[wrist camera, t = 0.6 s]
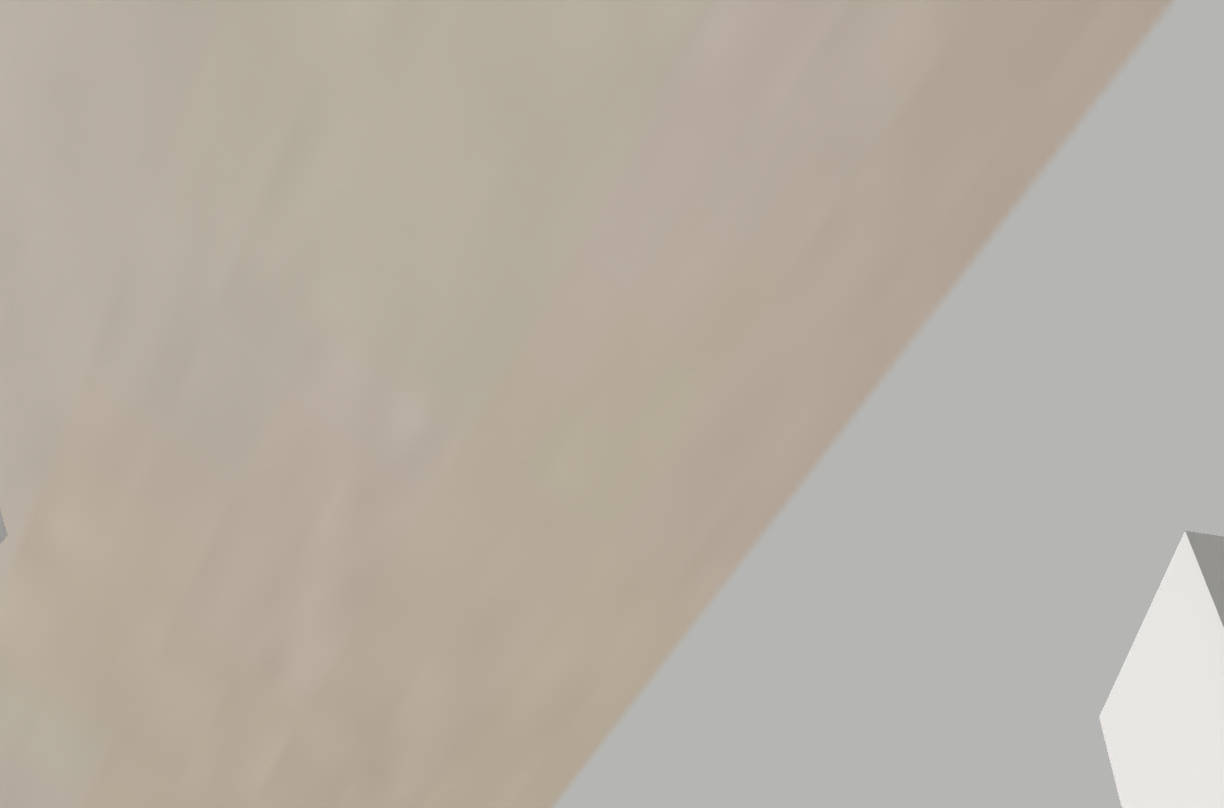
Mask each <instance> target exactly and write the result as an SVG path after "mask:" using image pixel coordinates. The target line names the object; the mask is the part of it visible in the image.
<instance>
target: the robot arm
mask: <svg viewBox="0 0 1224 808" xmlns="http://www.w3.org/2000/svg"><path fill="white" fill-rule="evenodd" d="M7 536H8V535H7V532H6V528H5V525H4V522H3V518H2V515H1V511H0V543H1V542H2V541H3V540H4V539H5V538H6V537H7ZM1099 718H1100V722H1101V726H1102V730H1103V734H1104V738H1105V742H1106V746H1107V750H1108V754H1109V758H1110V762H1111V766H1112V770H1113V774H1114V778H1115V782H1116V786H1117V790H1118V794H1119V798H1120V802H1121V806H1122V808H1224V537H1222V536H1215V535H1209V534H1201V533H1195V532H1188V531H1185V532H1184V534H1183V537H1182V539H1181V541H1180V543H1179V545H1178V547H1177V550H1176V552H1175V554H1174V556H1173V558H1172V560H1171V563H1170V565H1169V567H1168V569H1167V571H1166V573H1165V576H1164V578H1163V580H1162V582H1161V584H1160V587H1159V589H1158V591H1157V593H1156V595H1155V598H1154V600H1153V602H1152V604H1151V606H1150V608H1149V610H1148V613H1147V615H1146V617H1145V619H1144V621H1143V623H1142V626H1141V628H1140V630H1139V632H1138V634H1137V636H1136V639H1135V641H1134V643H1133V645H1132V647H1131V649H1130V652H1129V654H1128V656H1127V658H1126V660H1125V662H1124V665H1123V667H1122V669H1121V671H1120V673H1119V676H1118V678H1117V680H1116V682H1115V684H1114V687H1113V688H1112V691H1111V693H1110V695H1109V697H1108V699H1107V701H1106V704H1105V706H1104V708H1103V710H1102V712H1101V714H1100V717H1099Z"/></svg>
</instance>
